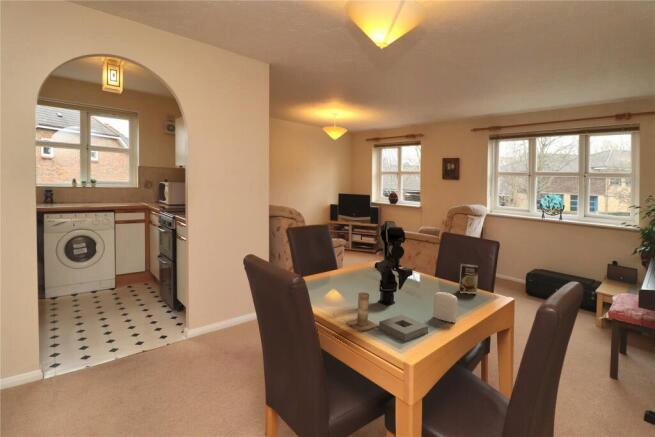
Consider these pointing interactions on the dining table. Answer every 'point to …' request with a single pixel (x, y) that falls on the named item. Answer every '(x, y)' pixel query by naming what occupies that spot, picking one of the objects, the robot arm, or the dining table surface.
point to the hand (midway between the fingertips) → (392, 286)
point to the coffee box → (468, 278)
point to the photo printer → (445, 306)
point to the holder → (403, 327)
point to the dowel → (363, 309)
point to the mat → (362, 328)
